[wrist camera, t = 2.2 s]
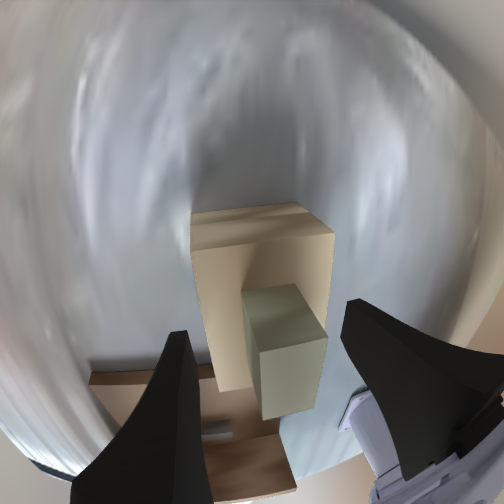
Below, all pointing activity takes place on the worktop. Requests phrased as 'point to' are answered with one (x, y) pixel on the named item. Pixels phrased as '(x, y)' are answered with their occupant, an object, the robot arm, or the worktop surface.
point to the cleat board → (216, 434)
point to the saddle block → (265, 300)
